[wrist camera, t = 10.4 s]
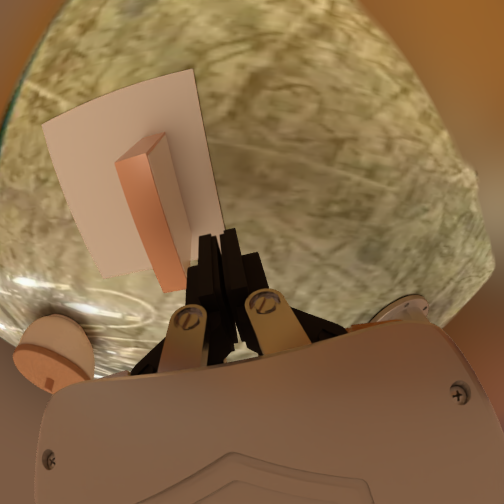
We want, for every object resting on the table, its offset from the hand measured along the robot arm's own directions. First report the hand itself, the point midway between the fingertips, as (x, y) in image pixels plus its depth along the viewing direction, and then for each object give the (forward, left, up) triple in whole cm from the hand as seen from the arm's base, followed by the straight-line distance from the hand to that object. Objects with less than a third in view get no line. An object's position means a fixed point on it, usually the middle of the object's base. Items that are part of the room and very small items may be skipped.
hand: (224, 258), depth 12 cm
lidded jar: (-14, +24, -11) cm, 29 cm away
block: (0, +4, -10) cm, 11 cm away
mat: (+1, +7, -11) cm, 13 cm away
